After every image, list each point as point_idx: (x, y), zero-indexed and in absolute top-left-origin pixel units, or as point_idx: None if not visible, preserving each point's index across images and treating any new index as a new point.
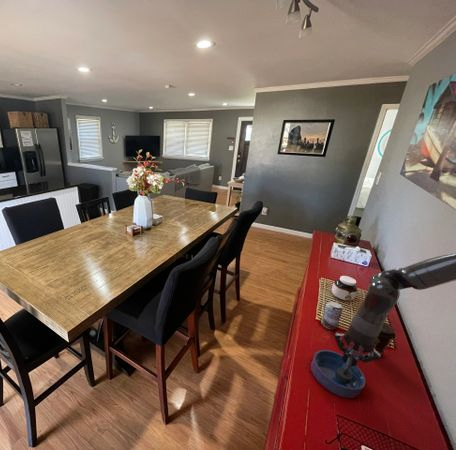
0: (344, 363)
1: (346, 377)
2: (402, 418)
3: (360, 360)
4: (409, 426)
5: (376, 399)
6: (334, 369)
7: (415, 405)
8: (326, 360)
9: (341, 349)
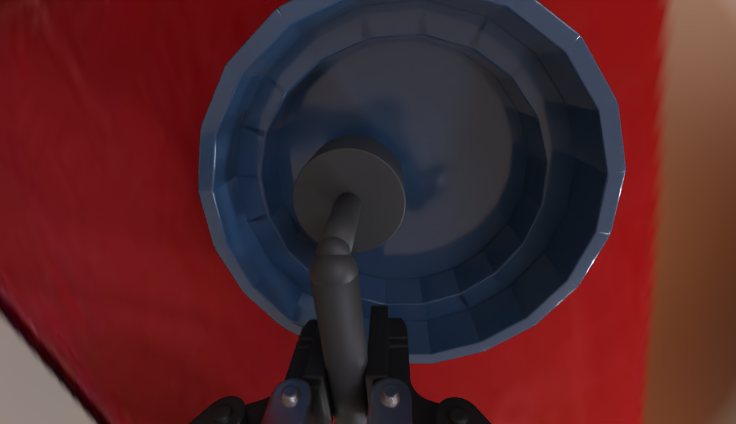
0: None
1: (325, 170)
2: (65, 189)
3: (261, 401)
4: (26, 165)
5: (184, 209)
6: (414, 234)
7: (81, 314)
8: (476, 262)
9: (457, 418)
